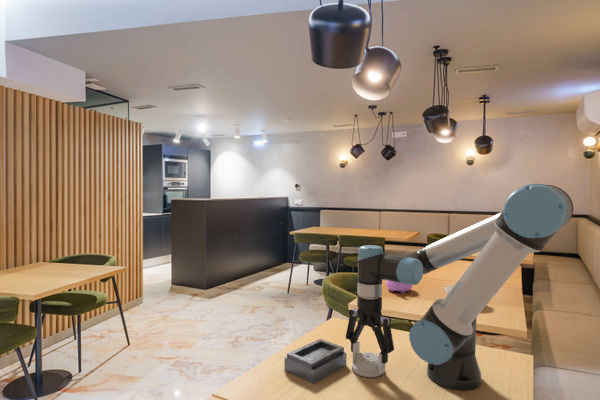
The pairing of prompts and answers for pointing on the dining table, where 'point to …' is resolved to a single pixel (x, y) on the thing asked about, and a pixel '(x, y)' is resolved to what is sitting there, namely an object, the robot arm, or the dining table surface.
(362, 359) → the mechanical component
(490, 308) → the dining table surface
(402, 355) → the dining table surface
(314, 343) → the dark grey rectangular box
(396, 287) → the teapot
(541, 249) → the robot arm
